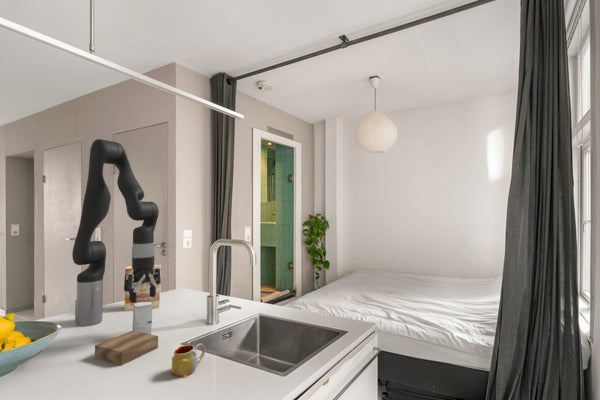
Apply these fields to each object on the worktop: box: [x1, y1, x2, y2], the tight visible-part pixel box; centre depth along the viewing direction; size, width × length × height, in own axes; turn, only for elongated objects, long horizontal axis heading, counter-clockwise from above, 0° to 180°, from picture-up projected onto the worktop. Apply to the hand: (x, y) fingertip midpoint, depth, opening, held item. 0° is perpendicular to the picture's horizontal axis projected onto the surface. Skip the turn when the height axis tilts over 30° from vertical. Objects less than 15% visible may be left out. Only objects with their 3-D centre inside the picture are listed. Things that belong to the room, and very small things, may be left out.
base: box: [94, 330, 159, 366], centre depth 111 cm, size 12×14×4 cm
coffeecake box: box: [124, 264, 162, 312], centre depth 161 cm, size 15×7×20 cm, turn 111°
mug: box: [170, 343, 206, 378], centre depth 101 cm, size 12×7×7 cm, turn 150°
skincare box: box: [132, 302, 153, 335], centre depth 125 cm, size 6×4×12 cm
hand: (143, 299), depth 125 cm, fingers open, 8 cm apart
